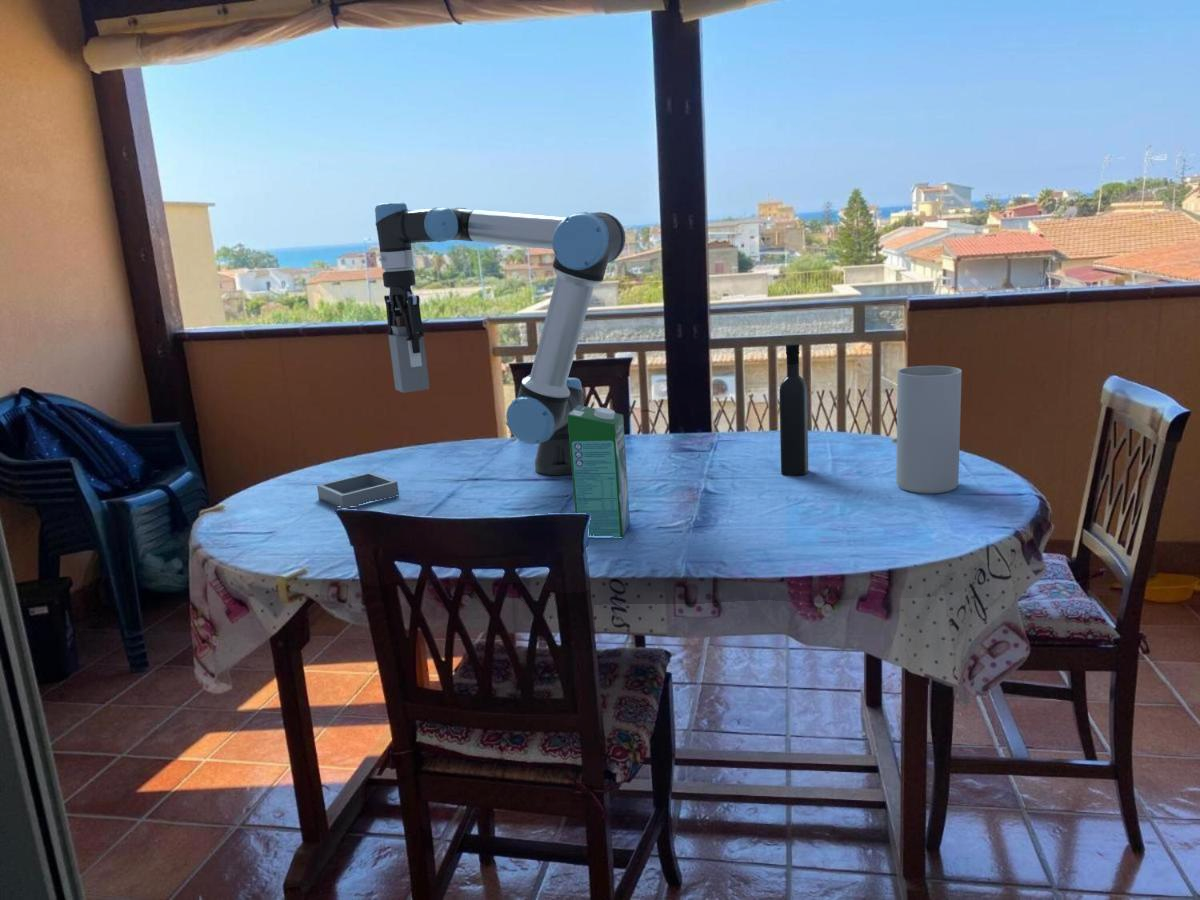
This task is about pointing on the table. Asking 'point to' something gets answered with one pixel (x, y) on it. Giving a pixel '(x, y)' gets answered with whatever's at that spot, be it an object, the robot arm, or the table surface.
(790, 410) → the wine bottle
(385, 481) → the tray
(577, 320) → the robot arm
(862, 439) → the table surface
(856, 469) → the table surface
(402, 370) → the perfume bottle
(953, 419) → the cylinder vase
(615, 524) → the milk carton
